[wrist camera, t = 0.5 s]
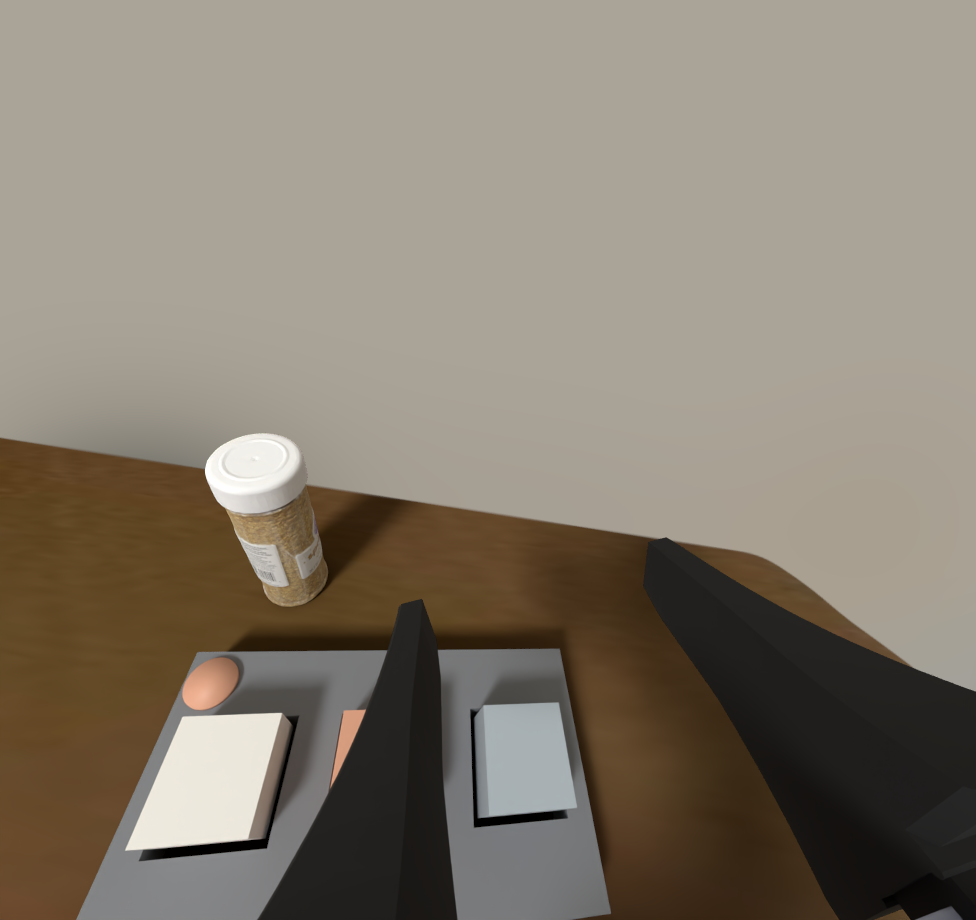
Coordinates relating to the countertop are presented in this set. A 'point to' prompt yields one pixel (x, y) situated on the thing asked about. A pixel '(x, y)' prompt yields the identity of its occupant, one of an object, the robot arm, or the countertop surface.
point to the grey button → (521, 760)
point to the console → (318, 715)
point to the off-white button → (215, 782)
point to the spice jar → (271, 513)
